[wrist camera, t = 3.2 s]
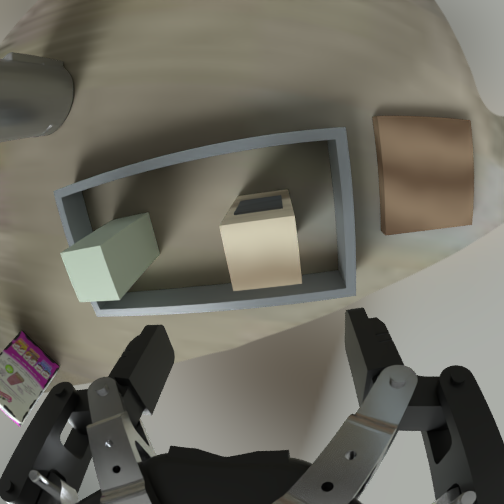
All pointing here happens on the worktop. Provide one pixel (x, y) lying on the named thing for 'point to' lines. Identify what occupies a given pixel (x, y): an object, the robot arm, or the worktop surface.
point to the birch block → (261, 241)
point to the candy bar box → (23, 377)
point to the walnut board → (424, 172)
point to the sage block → (111, 258)
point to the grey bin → (223, 294)
